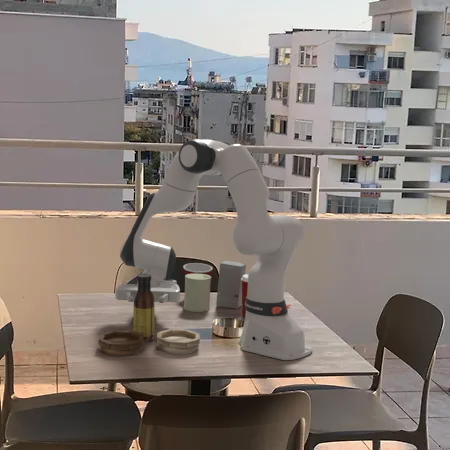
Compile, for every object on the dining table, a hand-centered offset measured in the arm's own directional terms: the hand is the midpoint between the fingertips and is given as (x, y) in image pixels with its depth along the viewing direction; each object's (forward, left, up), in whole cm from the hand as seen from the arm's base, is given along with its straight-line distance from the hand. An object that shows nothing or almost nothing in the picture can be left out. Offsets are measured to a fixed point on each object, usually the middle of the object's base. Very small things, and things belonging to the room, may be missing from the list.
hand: (146, 299), depth 222 cm
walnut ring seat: (-6, +15, -11) cm, 19 cm away
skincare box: (+6, -45, -11) cm, 47 cm away
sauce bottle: (-3, +4, -11) cm, 12 cm away
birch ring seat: (-15, +1, -11) cm, 19 cm away
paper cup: (-7, -41, -11) cm, 44 cm away
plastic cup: (+21, -43, -11) cm, 49 cm away
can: (+11, -33, -11) cm, 37 cm away
